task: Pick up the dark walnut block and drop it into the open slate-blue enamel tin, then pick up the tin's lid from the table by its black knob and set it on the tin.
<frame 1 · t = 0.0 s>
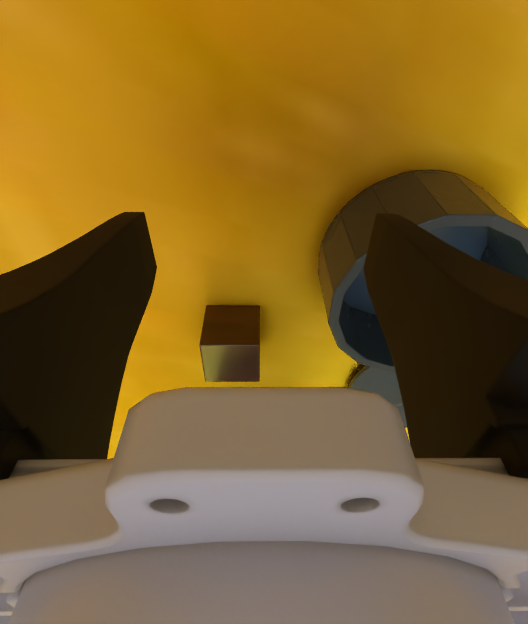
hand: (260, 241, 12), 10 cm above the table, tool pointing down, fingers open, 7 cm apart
lid: (412, 388, 33), point 1 cm above the table
tin: (402, 254, 24), on the table
block: (234, 324, 28), on the table
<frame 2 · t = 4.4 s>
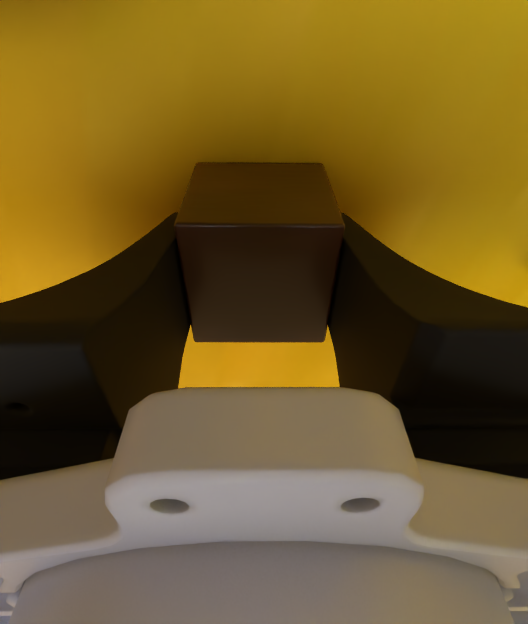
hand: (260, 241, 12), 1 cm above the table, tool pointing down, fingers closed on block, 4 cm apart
block: (259, 220, 13), on the table, touching gripper
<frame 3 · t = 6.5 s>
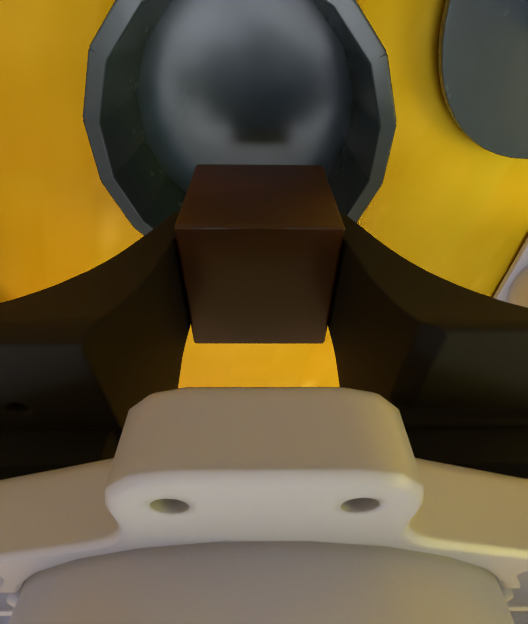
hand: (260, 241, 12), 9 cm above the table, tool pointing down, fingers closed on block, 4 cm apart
tin: (245, 116, 17), on the table
block: (259, 221, 13), point 8 cm above the table, touching gripper
when the fingers open (3 cm above the table, at t = 9.0 s): block drops 1 cm, resting on tin.
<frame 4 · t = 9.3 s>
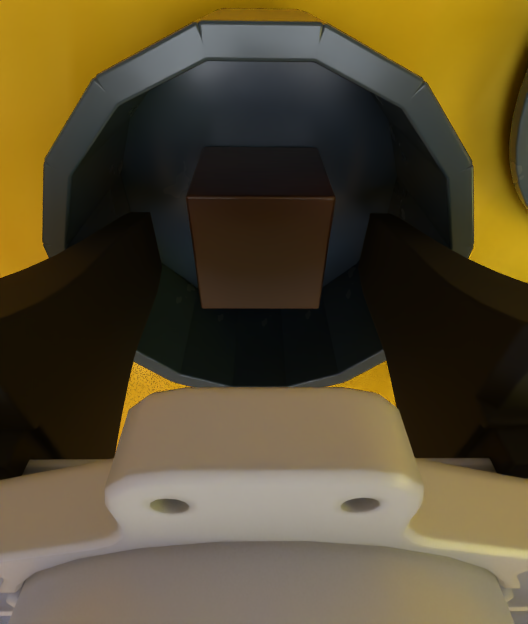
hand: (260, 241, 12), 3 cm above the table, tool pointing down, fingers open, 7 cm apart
tin: (259, 195, 14), on the table
block: (260, 201, 14), resting on tin
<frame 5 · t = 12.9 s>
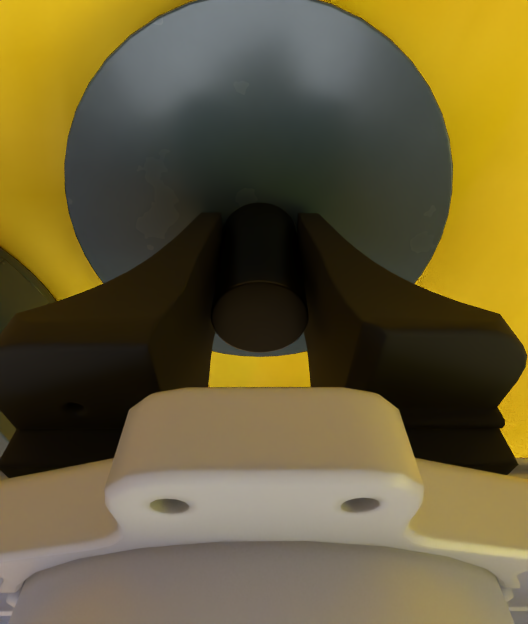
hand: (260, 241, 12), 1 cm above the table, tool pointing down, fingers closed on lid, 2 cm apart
lid: (259, 228, 12), point 1 cm above the table, touching gripper
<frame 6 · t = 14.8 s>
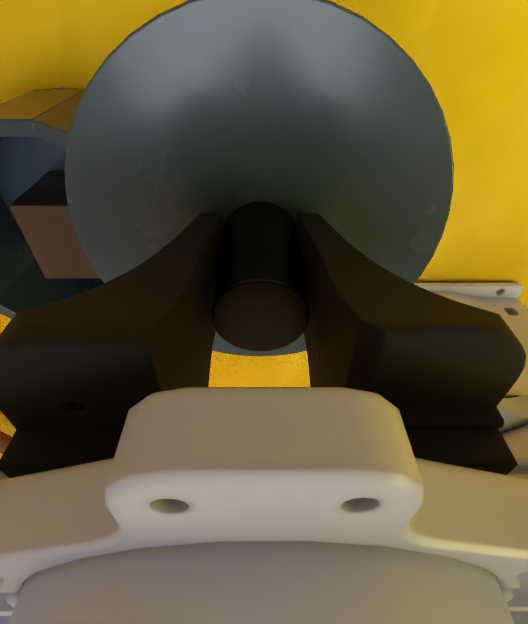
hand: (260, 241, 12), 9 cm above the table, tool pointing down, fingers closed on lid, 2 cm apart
lid: (260, 228, 12), point 8 cm above the table, touching gripper
tin: (100, 203, 20), on the table
block: (98, 207, 20), resting on tin
when the fingers open (6 cm above the table, at t = 16.9 s): lid stays where it is, resting on tin.
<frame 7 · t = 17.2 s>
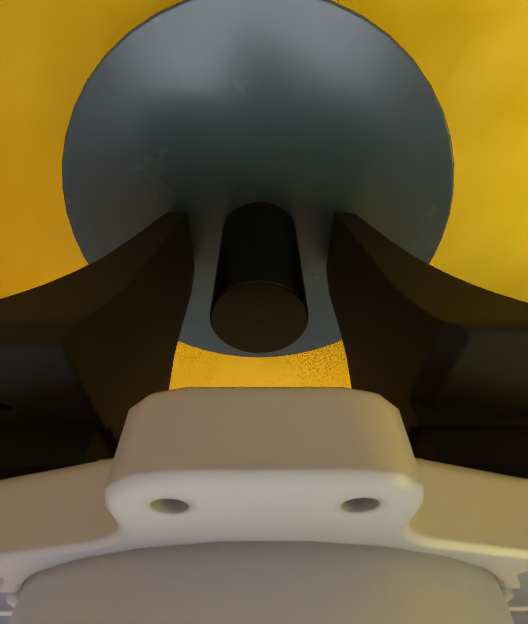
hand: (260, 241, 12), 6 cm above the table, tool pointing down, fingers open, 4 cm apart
lid: (259, 228, 12), point 5 cm above the table, touching tin
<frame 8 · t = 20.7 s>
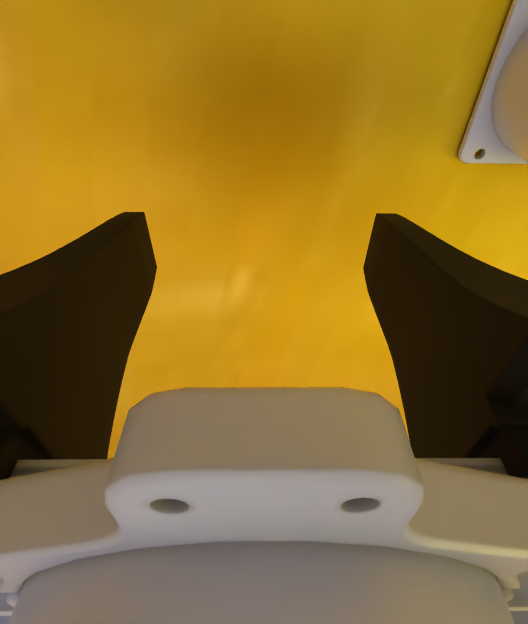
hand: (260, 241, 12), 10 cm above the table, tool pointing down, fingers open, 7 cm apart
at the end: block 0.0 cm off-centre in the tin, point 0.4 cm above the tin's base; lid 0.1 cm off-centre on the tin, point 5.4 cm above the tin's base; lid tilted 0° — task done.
